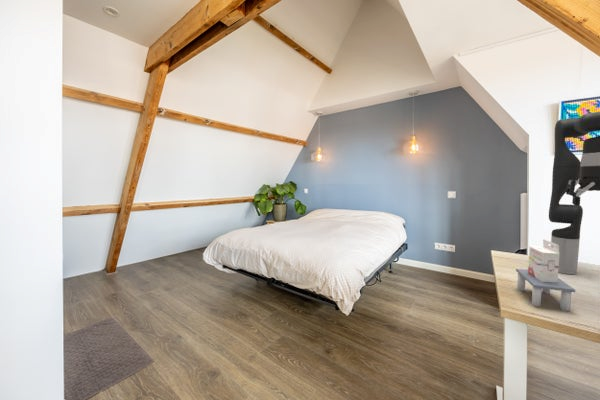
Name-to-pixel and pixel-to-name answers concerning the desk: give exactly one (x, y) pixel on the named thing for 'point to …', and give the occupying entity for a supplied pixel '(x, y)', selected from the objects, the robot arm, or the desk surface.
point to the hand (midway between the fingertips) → (591, 205)
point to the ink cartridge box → (544, 262)
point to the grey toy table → (545, 289)
